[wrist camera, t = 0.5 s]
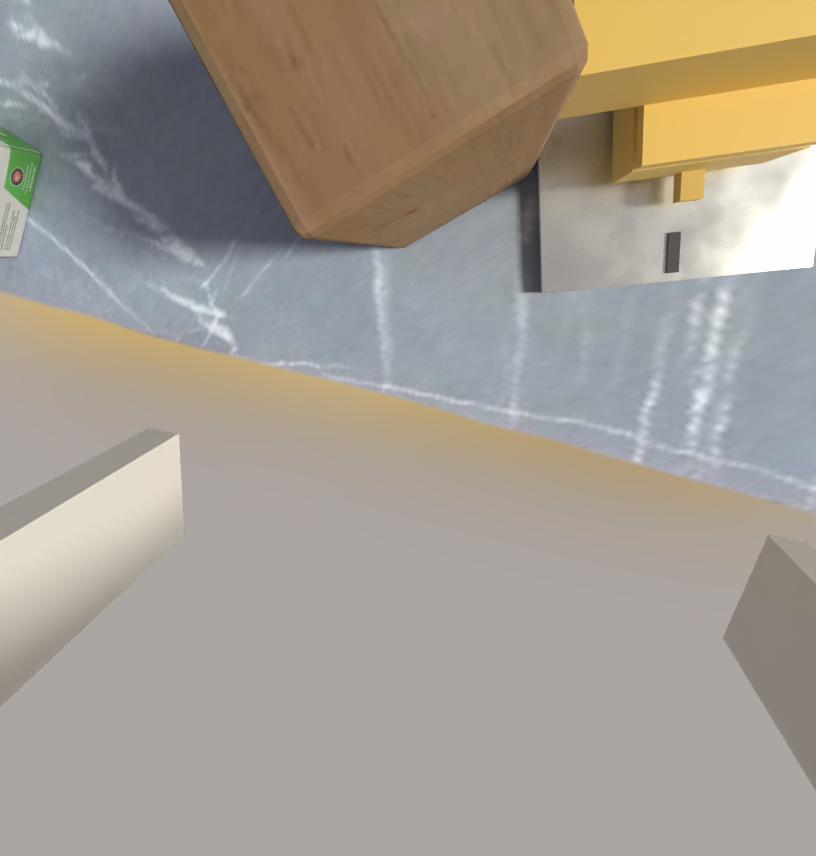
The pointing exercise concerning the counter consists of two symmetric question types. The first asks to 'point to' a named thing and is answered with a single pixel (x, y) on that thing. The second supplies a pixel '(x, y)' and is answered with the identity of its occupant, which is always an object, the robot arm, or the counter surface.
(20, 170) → the ink box
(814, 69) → the yellow block with bar
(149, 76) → the counter surface
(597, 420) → the counter surface
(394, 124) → the wooden block
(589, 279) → the base
